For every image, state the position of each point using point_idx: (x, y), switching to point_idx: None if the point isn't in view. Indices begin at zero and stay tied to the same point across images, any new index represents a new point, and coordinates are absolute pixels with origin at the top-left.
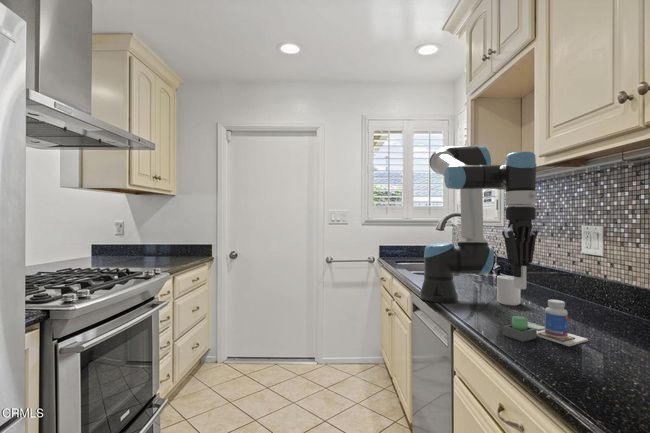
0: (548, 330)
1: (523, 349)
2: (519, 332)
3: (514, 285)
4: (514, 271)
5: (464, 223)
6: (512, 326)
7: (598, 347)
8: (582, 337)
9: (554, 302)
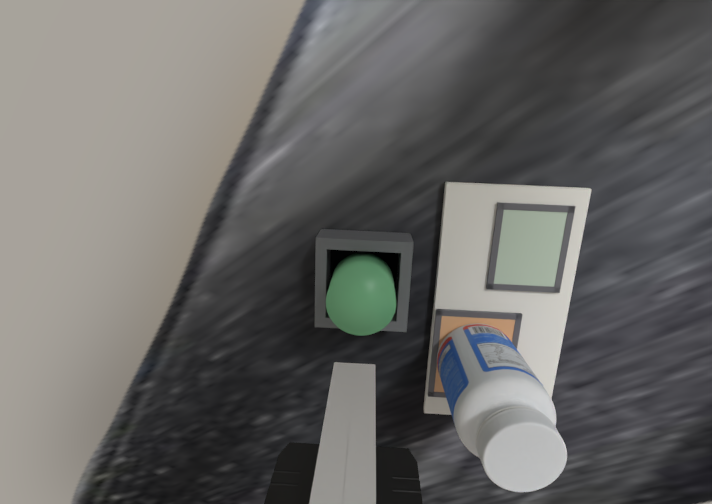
0: (440, 359)
1: (251, 351)
2: (315, 310)
3: (332, 375)
4: (270, 492)
5: None
6: (335, 270)
7: None
8: None
9: (484, 465)
